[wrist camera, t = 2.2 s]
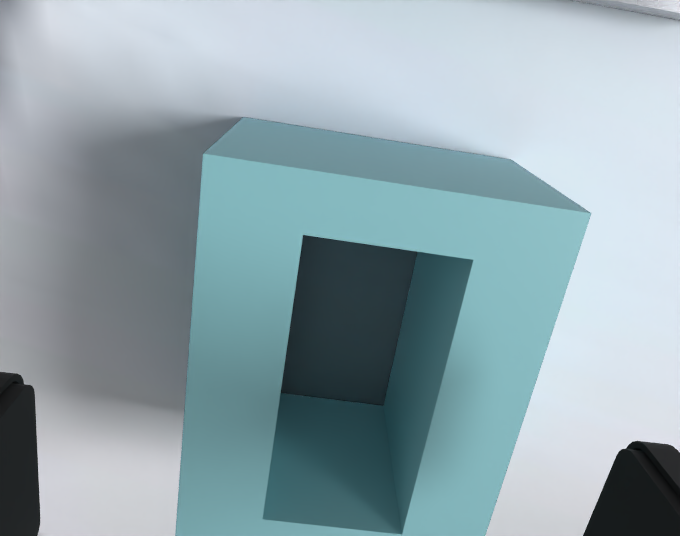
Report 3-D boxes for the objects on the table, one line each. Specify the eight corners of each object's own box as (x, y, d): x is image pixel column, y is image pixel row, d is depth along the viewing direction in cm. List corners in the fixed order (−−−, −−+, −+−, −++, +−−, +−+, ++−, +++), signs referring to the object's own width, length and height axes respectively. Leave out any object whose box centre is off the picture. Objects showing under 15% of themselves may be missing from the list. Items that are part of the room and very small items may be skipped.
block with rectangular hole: (243, 117, 15) (202, 153, 10) (511, 159, 15) (591, 213, 10) (214, 418, 18) (174, 550, 13) (435, 444, 18) (469, 580, 14)
